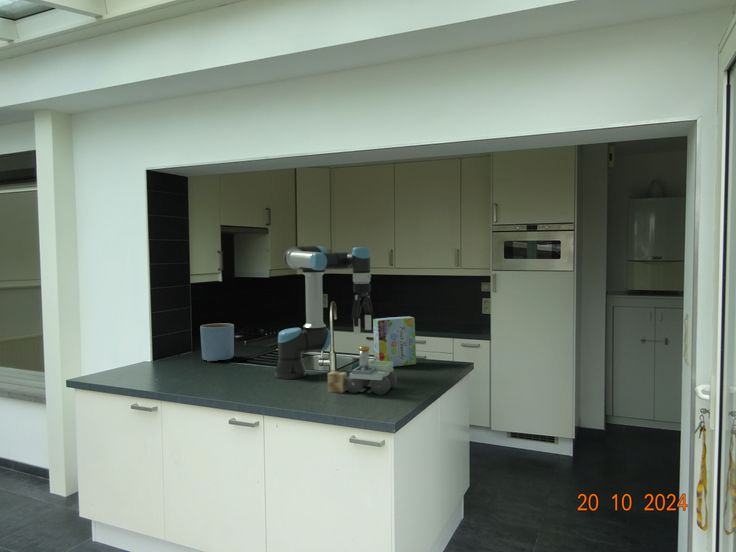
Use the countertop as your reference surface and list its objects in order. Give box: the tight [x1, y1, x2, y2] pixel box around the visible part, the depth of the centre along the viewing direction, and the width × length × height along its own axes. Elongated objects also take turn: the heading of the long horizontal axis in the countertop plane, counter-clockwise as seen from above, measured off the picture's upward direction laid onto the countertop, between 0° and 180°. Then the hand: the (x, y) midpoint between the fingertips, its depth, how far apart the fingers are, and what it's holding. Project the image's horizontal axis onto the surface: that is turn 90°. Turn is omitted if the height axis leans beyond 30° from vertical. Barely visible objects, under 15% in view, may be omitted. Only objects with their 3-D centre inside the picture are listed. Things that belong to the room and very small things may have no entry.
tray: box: [369, 359, 394, 372], centre depth 244 cm, size 11×10×2 cm
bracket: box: [334, 362, 359, 377], centre depth 268 cm, size 18×7×8 cm, turn 61°
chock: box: [327, 371, 348, 394], centre depth 242 cm, size 7×5×8 cm
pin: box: [358, 345, 371, 371], centre depth 237 cm, size 5×5×11 cm
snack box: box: [372, 315, 417, 368], centre depth 294 cm, size 22×9×26 cm, turn 111°
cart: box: [345, 367, 398, 396], centre depth 241 cm, size 20×18×10 cm
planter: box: [199, 322, 235, 362], centre depth 319 cm, size 19×19×20 cm
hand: (362, 331), depth 236 cm, fingers open, 13 cm apart
